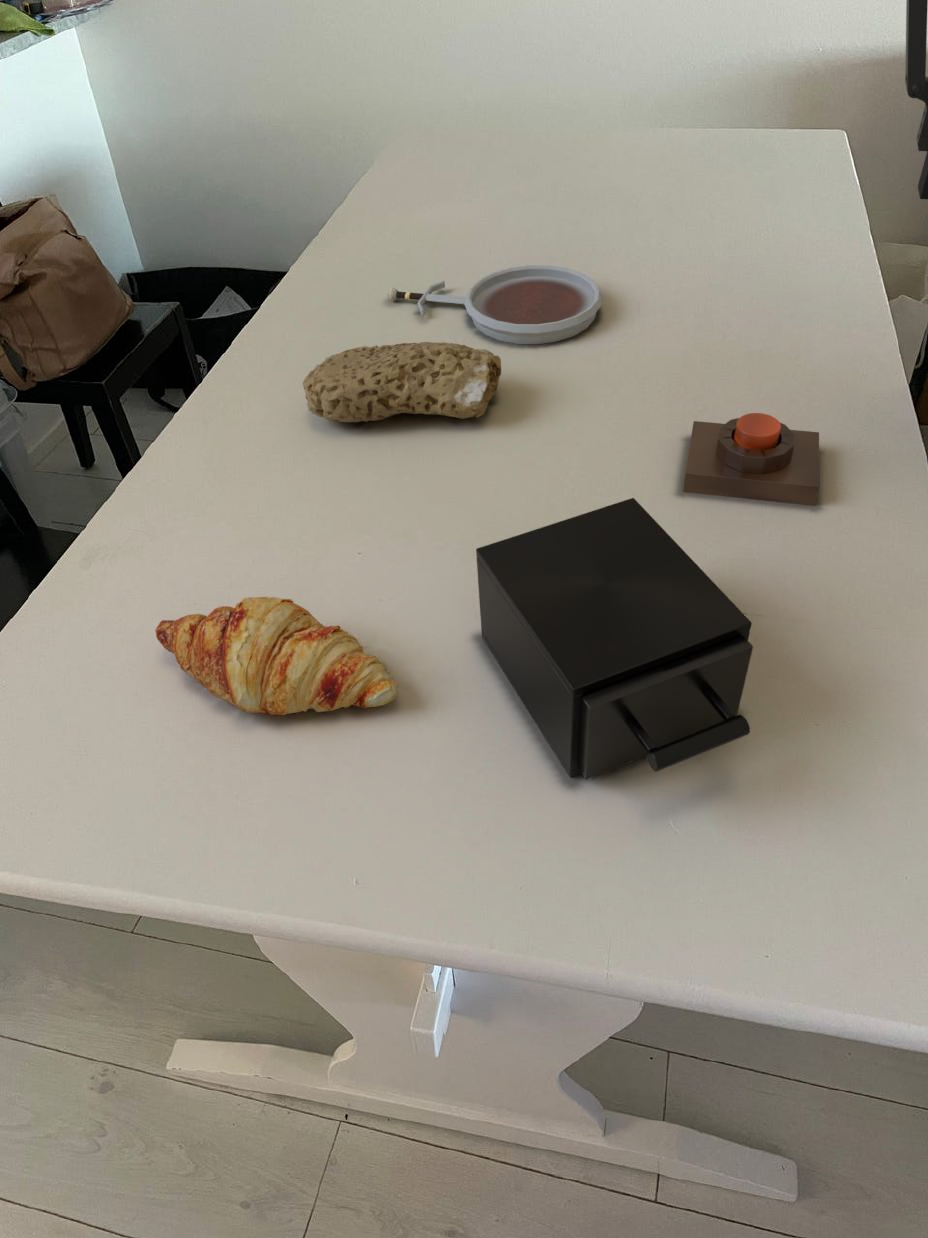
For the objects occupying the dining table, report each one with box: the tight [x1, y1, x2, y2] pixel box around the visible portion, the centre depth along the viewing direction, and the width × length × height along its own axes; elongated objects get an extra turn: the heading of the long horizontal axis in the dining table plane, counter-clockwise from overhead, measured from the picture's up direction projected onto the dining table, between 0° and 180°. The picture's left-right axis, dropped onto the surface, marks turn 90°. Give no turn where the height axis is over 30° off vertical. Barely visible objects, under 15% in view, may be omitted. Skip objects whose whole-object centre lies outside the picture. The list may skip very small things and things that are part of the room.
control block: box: [682, 417, 820, 507], centre depth 89 cm, size 12×9×4 cm
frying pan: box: [386, 264, 603, 345], centre depth 116 cm, size 17×3×28 cm
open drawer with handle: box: [578, 635, 754, 780], centre depth 67 cm, size 19×12×8 cm, turn 23°
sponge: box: [302, 341, 502, 423], centre depth 99 cm, size 13×8×20 cm
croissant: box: [154, 596, 399, 716], centre depth 73 cm, size 21×10×8 cm, turn 71°
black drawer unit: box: [475, 497, 752, 778], centre depth 69 cm, size 16×14×10 cm
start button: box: [734, 412, 781, 451], centre depth 87 cm, size 4×4×2 cm
